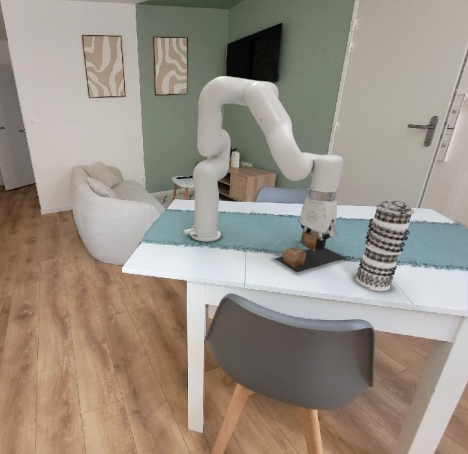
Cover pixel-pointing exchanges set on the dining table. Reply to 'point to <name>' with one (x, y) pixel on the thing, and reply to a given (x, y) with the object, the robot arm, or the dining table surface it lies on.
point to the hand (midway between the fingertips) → (313, 245)
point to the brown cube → (311, 240)
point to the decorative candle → (384, 244)
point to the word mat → (314, 259)
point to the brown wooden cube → (294, 257)
